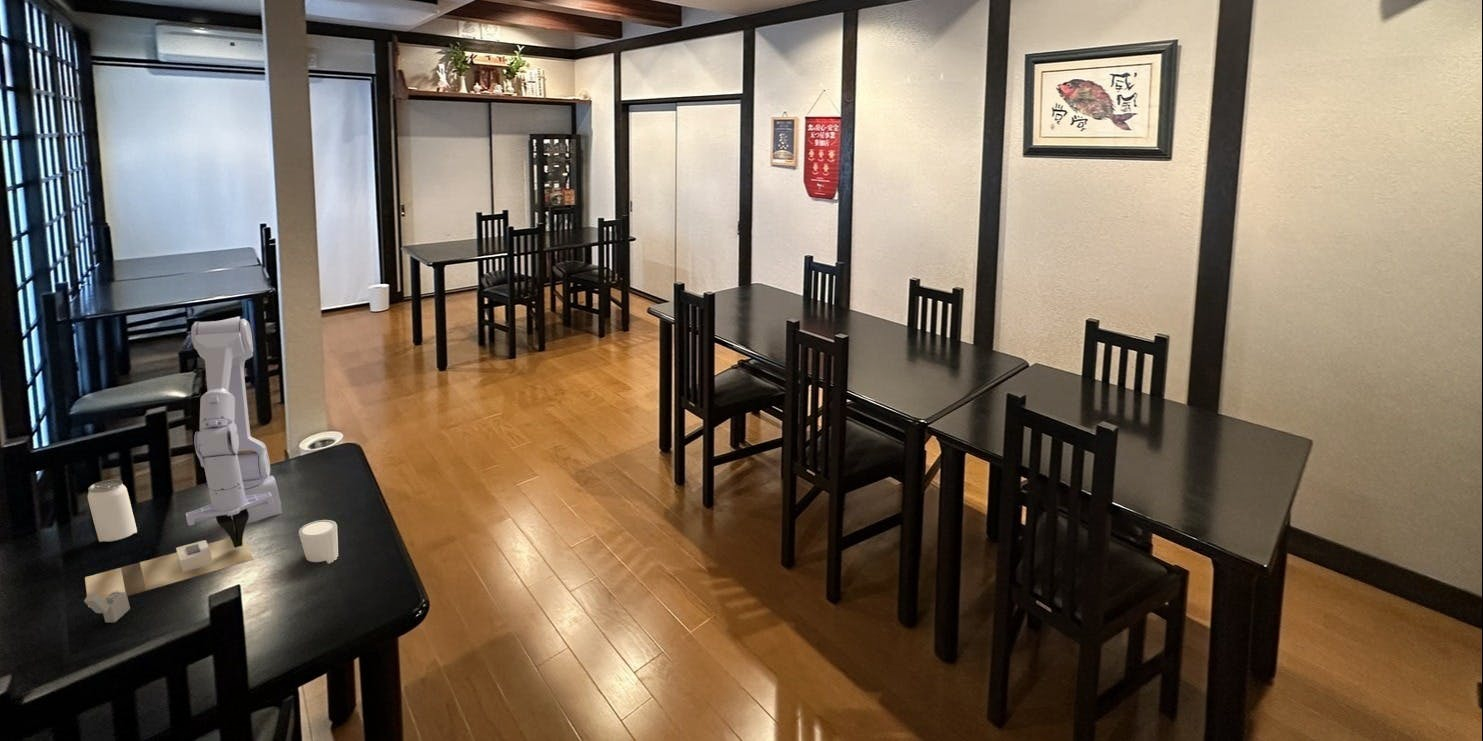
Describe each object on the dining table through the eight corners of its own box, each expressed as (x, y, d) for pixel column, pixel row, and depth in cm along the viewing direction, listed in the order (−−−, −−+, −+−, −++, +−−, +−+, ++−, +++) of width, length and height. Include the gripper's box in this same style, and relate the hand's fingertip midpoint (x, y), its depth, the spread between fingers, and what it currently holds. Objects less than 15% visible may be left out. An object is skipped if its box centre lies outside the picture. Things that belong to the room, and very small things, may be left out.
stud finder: (208, 550, 163) (205, 538, 162) (213, 563, 158) (210, 551, 157) (178, 558, 160) (175, 546, 159) (182, 572, 155) (179, 559, 154)
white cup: (303, 571, 158) (298, 539, 156) (303, 554, 164) (298, 523, 162) (342, 562, 161) (337, 532, 159) (340, 546, 167) (336, 516, 165)
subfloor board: (243, 538, 169) (242, 534, 169) (254, 563, 160) (253, 559, 160) (86, 581, 153) (84, 577, 153) (89, 612, 145) (88, 607, 144)
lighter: (122, 612, 145) (112, 574, 142) (132, 612, 145) (122, 574, 142) (93, 638, 138) (82, 597, 135) (104, 637, 138) (93, 597, 135)
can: (117, 547, 165) (103, 494, 161) (91, 543, 166) (76, 490, 162) (145, 531, 171) (133, 480, 167) (119, 527, 172) (106, 476, 168)
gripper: (184, 502, 151) (198, 565, 156) (271, 481, 160) (282, 541, 165) (179, 488, 157) (193, 550, 161) (263, 468, 165) (274, 527, 170)
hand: (237, 544), depth 163 cm, fingers closed
